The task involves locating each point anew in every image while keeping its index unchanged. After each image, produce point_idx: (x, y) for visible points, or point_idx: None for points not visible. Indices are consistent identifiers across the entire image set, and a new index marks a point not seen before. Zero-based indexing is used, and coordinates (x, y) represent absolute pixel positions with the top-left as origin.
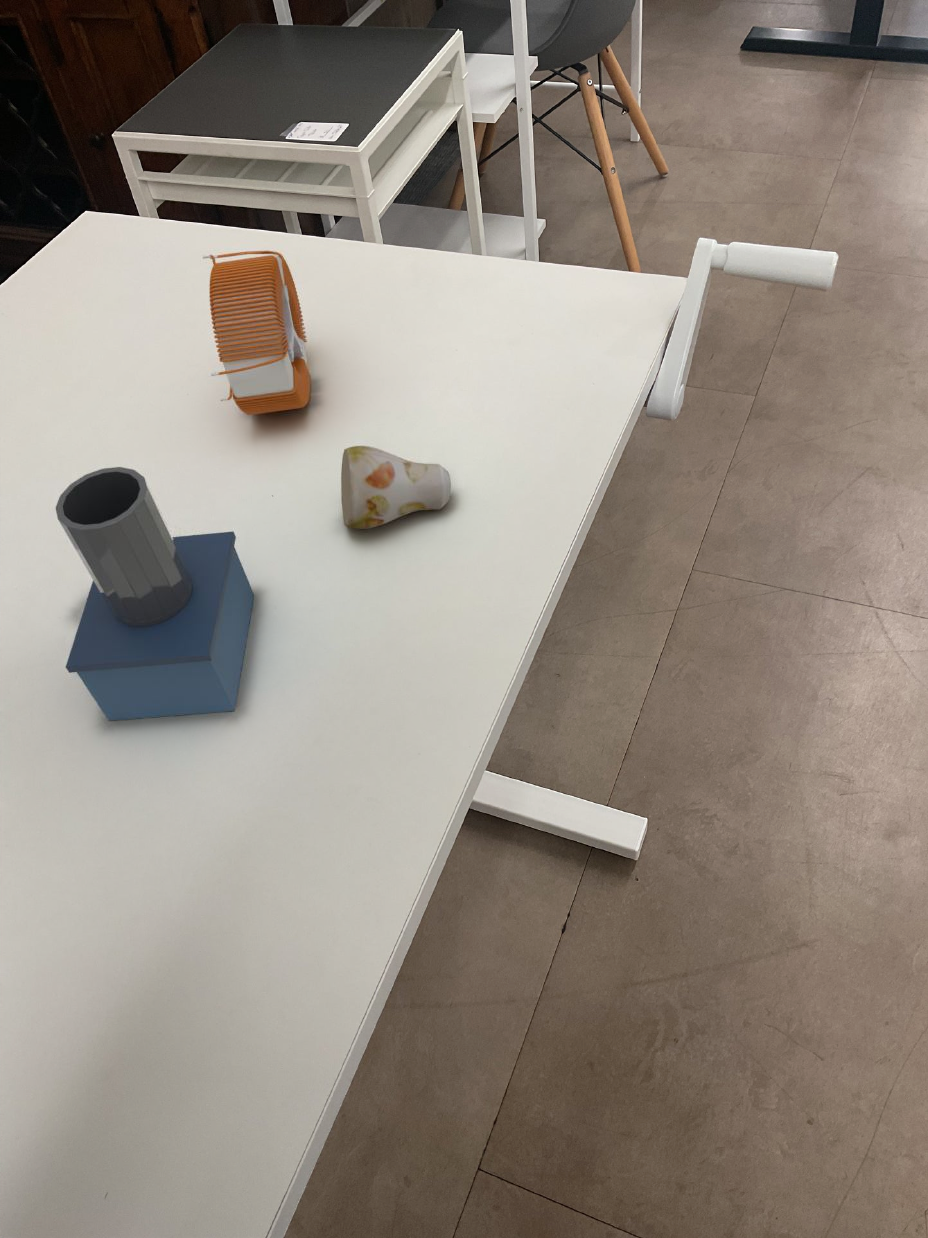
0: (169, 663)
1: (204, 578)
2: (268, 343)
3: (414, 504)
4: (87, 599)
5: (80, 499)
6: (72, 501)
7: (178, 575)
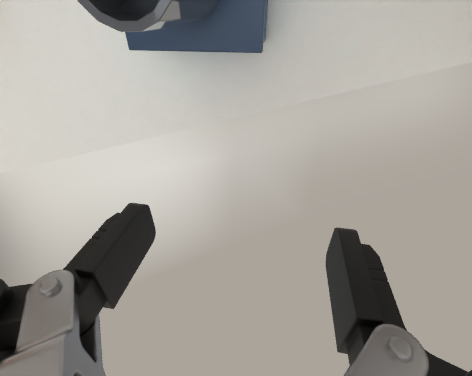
0: None
1: None
2: None
3: None
4: (190, 50)
5: (114, 12)
6: (122, 18)
7: None
